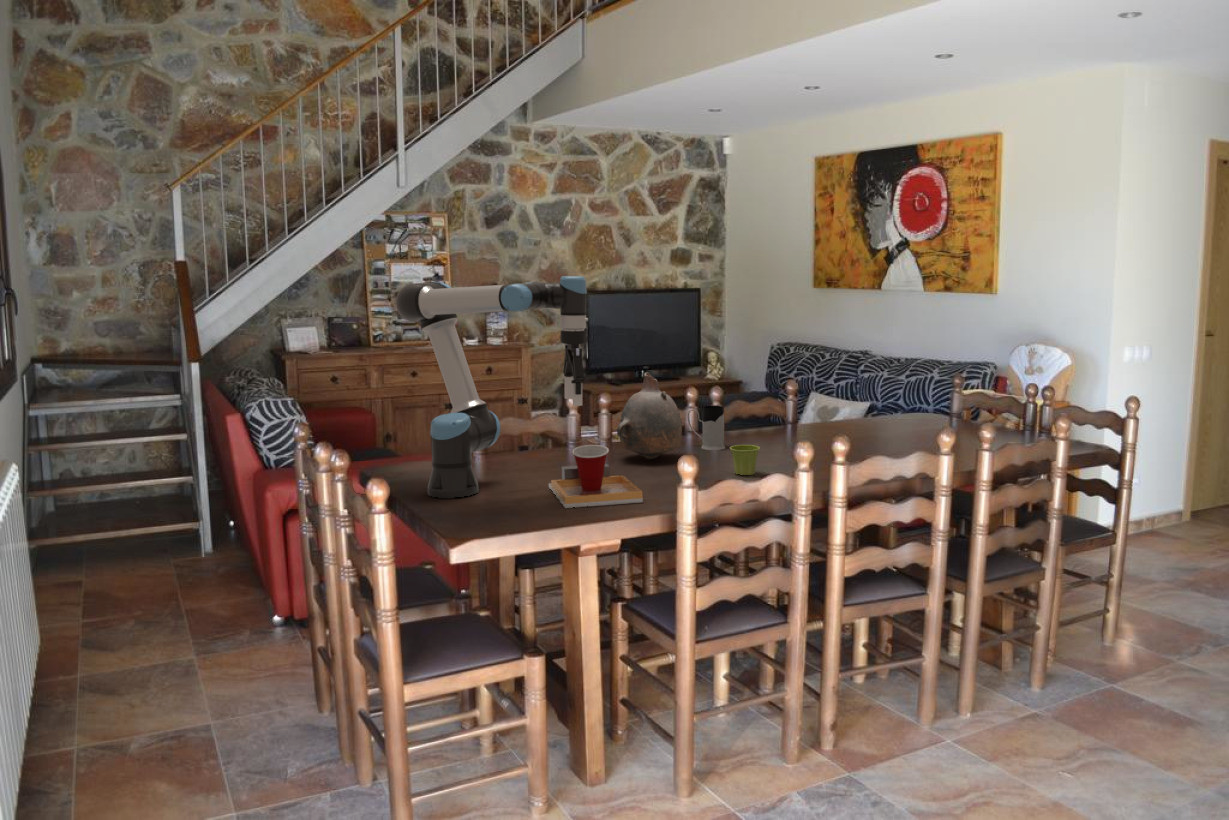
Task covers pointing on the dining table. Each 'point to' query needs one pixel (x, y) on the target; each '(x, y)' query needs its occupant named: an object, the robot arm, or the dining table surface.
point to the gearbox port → (609, 494)
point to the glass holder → (711, 427)
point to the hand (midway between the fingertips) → (573, 402)
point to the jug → (650, 421)
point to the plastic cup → (590, 465)
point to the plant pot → (744, 458)
